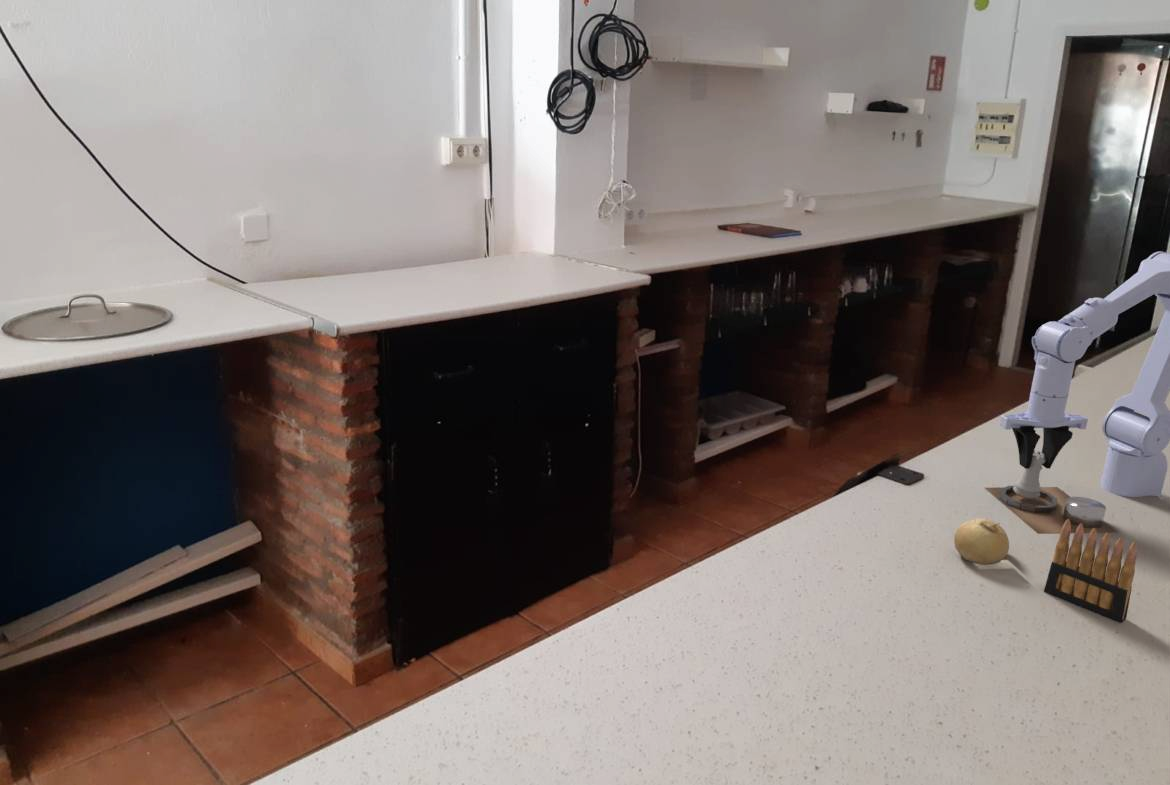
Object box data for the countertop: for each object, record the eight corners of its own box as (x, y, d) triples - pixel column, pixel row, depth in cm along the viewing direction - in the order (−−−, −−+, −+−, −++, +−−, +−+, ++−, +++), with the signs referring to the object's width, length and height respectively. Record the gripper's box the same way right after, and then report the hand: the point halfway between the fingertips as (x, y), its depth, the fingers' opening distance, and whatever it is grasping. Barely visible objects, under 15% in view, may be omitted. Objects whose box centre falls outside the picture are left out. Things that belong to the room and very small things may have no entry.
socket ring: (1038, 490, 167) (1039, 485, 167) (1067, 512, 158) (1068, 507, 158) (990, 490, 166) (991, 485, 166) (1016, 513, 158) (1017, 507, 157)
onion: (943, 558, 144) (950, 517, 142) (963, 541, 150) (970, 501, 147) (995, 576, 139) (1003, 534, 137) (1013, 558, 144) (1021, 518, 142)
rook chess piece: (1034, 489, 165) (1045, 449, 161) (1043, 501, 161) (1054, 460, 157) (1009, 486, 165) (1019, 446, 162) (1016, 498, 161) (1027, 458, 158)
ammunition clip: (1126, 619, 128) (1145, 542, 125) (1121, 623, 127) (1139, 546, 123) (1048, 588, 136) (1064, 514, 132) (1043, 592, 135) (1058, 518, 131)
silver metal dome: (1088, 512, 159) (1092, 496, 158) (1110, 528, 153) (1113, 511, 152) (1055, 512, 158) (1058, 496, 157) (1075, 528, 153) (1079, 512, 152)
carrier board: (1056, 491, 169) (1057, 486, 169) (1117, 537, 152) (1118, 532, 152) (983, 492, 168) (984, 487, 168) (1036, 538, 151) (1037, 533, 151)
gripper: (1076, 385, 160) (1061, 457, 165) (996, 385, 159) (983, 457, 163) (1100, 398, 154) (1084, 472, 158) (1018, 398, 152) (1004, 473, 157)
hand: (1034, 466), depth 160 cm, fingers closed on rook chess piece, 3 cm apart
